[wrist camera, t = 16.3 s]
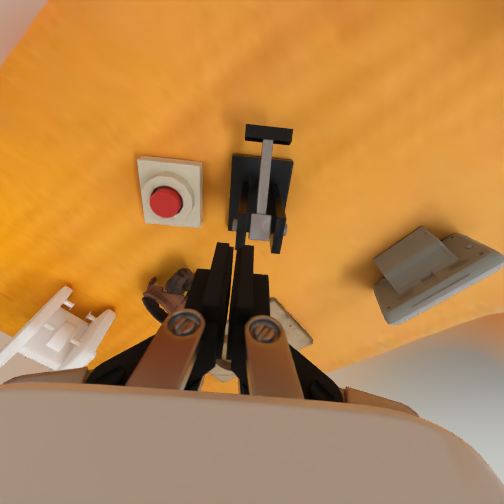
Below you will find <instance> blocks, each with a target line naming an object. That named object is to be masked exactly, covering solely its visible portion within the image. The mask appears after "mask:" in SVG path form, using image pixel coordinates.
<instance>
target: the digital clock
mask: <svg viewBox="0 0 504 504" xmlns="http://www.w3.org/2000/svg"><path fill="white" fill-rule="evenodd" d="M373 261H374V262H375V264H376V265H377V267H378V268H379V270H380V271H381V272H382V274H383V275H384V277H385V278H383V279H382V280H380V281H379V282H377V283H376V284H375V285H374V294H375V296H376V299H377V301H378V304H379V306H380V309H381V311H382V314H383V316H384V318H385V320H386V322H387V323H388V324H393V325H399V324H401V323H403V322H405V321H407V320H409V319H411V318H413V317H415V316H416V315H418V314H420V313H422V312H424V311H426V310H427V309H429V308H431V307H433V306H435V305H437V304H438V303H440V302H442V301H444V300H446V299H447V298H449V297H451V296H453V295H455V294H457V293H458V292H460V291H462V290H464V289H466V288H468V287H469V286H471V285H473V284H475V283H477V282H479V281H480V280H482V279H484V278H486V277H488V276H489V275H491V274H493V273H495V272H496V271H498V270H500V269H501V268H502V267H503V265H504V256H503V255H502V254H501V253H499V252H497V251H496V250H494V249H492V248H490V247H488V246H486V245H484V244H482V243H479V242H477V241H475V240H473V239H471V238H469V237H467V236H465V235H462V234H453V235H451V236H449V237H448V238H446V239H445V240H443V241H440V240H439V239H438V238H437V237H436V236H434V235H433V234H432V233H431V232H430V231H428V230H427V229H426V228H425V227H423V226H421V227H420V228H418V229H417V230H416V231H414V232H413V233H411V234H410V235H408V236H407V237H405V238H404V239H402V240H401V241H399V242H398V243H396V244H395V245H394V246H392V247H391V248H389V249H388V250H386V251H385V252H383V253H382V254H380V255H379V256H377V257H376V258H374V259H373Z"/></svg>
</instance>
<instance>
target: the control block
mask: <svg viewBox="0 0 504 504" xmlns="http://www.w3.org/2000/svg"><path fill="white" fill-rule="evenodd" d="M137 165H138V173H139V181H140V188H141V196H142V204H143V212H144V219H145V223H150V224H161V225H172V226H182V227H193V228H200V227H201V225H202V222H203V162H199V161H189V160H180V159H170V158H161V157H151V156H142V157H140V158H138V159H137ZM161 187H169V188H172V189H174V190H175V191H176V192H177V193H178V194H179V195H180V197H181V207H180V209H179V210H178V212H177V213H176V214H175V215H174V216H173V217H170V218H163V217H160V216H158V215H156V214H155V213H154V212H153V211H152V209H151V207H150V198H151V196H152V195H153V194H154V193H155V192H156V191H157V190H158V189H159V188H161Z"/></svg>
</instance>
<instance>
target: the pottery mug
mask: <svg viewBox="0 0 504 504" xmlns="http://www.w3.org/2000/svg"><path fill="white" fill-rule="evenodd" d="M193 279H194V277H193V274H192V272H191V270H189V269H188V268H182V269H180V270H179V271H177V272H176V273H175V274H174V275H173V276H172V277H171V278H170V279H169V280H168V281H167V283H166V285H165V289H166V291H167V292H163V287H159V286H155V285H154V284H155V282H156V277H153V278H152V279H151V281H150V282H149V284H148V287H147V291H146V292H144V293H143V295H144V297H143V298H142V301H143V303H144V305H145V307H146V308H147V310H148V311H149V312H150V313H151V315H152V316H153V317H154V318H155V319H156V320H158V321H159V322H160V323H163V322H164V320H165V319H166V317H167V316H168V315H169V314H171V313H172V312H174V311H177V310H179V309H184V306H185V303H186V300H187V297H188V294H189V291H190V288H191V285H192V282H193ZM153 285H154V286H153ZM185 291H188V293H187V295H186V297H185V296H184V295H183V294H184V292H185ZM157 301H158V302H159V303H160V304H161V305H162V306H163V307H164V309H165V310H166V311H167V312H168V313H166V312H165V311H164V310H163V309H162V308H160V307H159V304H158V302H157Z"/></svg>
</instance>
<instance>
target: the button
mask: <svg viewBox="0 0 504 504" xmlns="http://www.w3.org/2000/svg"><path fill="white" fill-rule="evenodd" d="M150 207H151V209H152V211H153V212H154V213H155V214H156V215H158V216H160V217H163V218H170V217H173V216H174V215H175V214H176V213H177V212H178V210H179V209H180V207H181V197H180V195H179V194H178V193H177V192H176V191H175V190H174V189H172V188H169V187H161V188H159V189H158V190H157V191H156V192H155V193H154V194H153V195H152V196H151V198H150Z"/></svg>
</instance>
